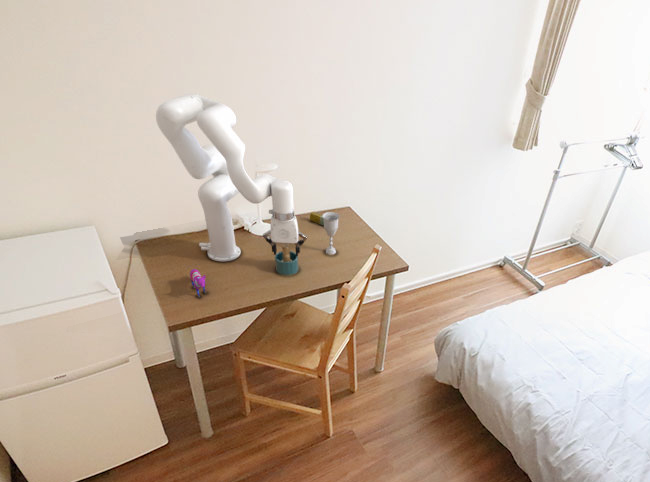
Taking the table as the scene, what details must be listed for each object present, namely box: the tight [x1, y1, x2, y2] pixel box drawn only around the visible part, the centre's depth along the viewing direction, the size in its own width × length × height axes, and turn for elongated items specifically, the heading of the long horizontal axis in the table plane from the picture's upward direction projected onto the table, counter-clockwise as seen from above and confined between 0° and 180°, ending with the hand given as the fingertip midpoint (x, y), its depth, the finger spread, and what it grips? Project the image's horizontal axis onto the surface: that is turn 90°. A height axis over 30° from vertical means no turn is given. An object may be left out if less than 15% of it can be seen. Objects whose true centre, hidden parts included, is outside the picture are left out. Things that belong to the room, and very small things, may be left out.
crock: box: [274, 250, 299, 276], centre depth 186 cm, size 9×9×6 cm
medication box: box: [309, 211, 324, 227], centre depth 220 cm, size 12×3×4 cm, turn 68°
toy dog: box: [189, 268, 207, 299], centre depth 167 cm, size 4×18×10 cm, turn 37°
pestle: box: [281, 243, 292, 262], centre depth 184 cm, size 4×4×11 cm
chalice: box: [322, 211, 340, 255], centre depth 197 cm, size 7×7×18 cm
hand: (286, 253), depth 183 cm, fingers open, 7 cm apart
